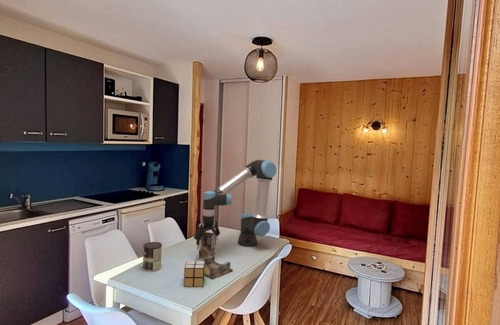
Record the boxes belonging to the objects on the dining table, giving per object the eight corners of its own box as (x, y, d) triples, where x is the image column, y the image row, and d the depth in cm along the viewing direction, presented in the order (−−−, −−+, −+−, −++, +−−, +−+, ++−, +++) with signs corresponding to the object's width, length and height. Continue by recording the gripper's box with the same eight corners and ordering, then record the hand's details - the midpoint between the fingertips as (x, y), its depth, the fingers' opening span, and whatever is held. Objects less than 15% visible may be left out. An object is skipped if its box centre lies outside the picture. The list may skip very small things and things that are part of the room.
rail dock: (212, 262, 185) (212, 254, 184) (232, 271, 173) (233, 262, 172) (191, 269, 173) (192, 260, 172) (212, 279, 161) (212, 270, 160)
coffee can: (143, 272, 165) (144, 248, 164) (142, 265, 174) (142, 242, 174) (162, 270, 169) (163, 246, 168) (160, 263, 179) (160, 241, 178)
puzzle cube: (186, 278, 161) (186, 260, 161) (204, 278, 162) (205, 260, 161) (183, 287, 151) (184, 268, 151) (203, 287, 152) (203, 268, 151)
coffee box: (215, 257, 193) (216, 233, 192) (210, 260, 187) (211, 236, 186) (202, 255, 196) (203, 231, 195) (198, 258, 190) (199, 234, 189)
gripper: (218, 211, 202) (217, 242, 203) (189, 216, 183) (187, 250, 184) (226, 213, 197) (224, 244, 198) (196, 219, 178) (195, 253, 179)
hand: (206, 247), depth 191 cm, fingers open, 13 cm apart
